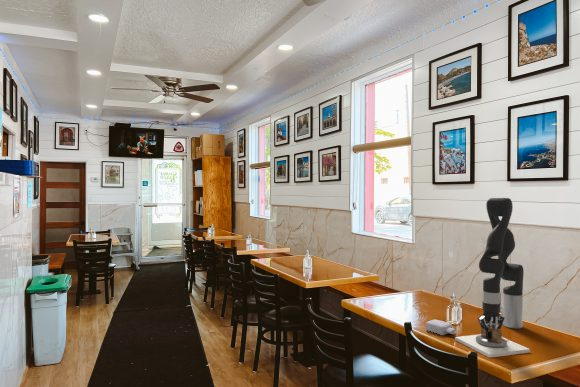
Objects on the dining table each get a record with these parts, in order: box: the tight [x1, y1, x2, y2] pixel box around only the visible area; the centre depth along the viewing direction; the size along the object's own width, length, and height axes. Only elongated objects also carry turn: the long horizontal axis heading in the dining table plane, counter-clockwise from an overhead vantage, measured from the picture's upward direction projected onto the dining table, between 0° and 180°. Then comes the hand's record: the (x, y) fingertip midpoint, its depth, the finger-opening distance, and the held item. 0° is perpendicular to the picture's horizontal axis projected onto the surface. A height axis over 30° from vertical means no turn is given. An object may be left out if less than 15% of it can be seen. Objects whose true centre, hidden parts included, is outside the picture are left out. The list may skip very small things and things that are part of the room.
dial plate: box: [454, 333, 531, 359], centre depth 192 cm, size 22×22×2 cm
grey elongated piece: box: [425, 319, 459, 336], centre depth 210 cm, size 5×9×15 cm
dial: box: [476, 327, 507, 348], centre depth 192 cm, size 13×13×7 cm
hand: (491, 338), depth 192 cm, fingers closed on dial, 2 cm apart
